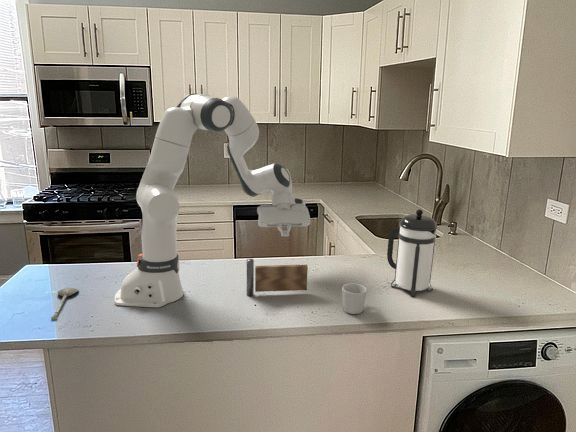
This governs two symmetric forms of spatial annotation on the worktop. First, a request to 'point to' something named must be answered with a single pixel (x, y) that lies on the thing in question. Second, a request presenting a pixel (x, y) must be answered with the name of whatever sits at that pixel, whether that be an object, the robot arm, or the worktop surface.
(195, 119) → the robot arm
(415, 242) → the coffee press
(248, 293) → the gate post
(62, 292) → the soupspoon
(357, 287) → the cup
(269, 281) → the gate
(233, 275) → the worktop surface
